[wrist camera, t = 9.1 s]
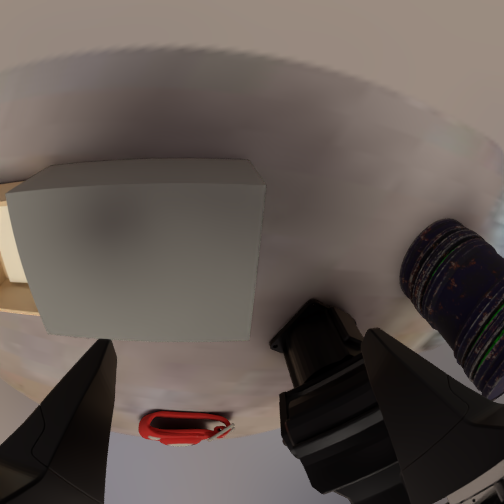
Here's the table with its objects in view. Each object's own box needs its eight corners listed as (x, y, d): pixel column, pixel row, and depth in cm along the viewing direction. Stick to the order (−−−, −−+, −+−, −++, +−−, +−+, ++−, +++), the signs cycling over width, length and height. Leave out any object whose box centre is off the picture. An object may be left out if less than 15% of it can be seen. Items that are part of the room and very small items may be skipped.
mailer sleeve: (248, 159, 19) (266, 185, 14) (238, 286, 23) (249, 340, 18) (51, 165, 16) (5, 193, 11) (72, 284, 21) (47, 334, 16)
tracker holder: (189, 448, 36) (130, 445, 30) (186, 422, 39) (128, 415, 33) (245, 439, 31) (177, 440, 25) (240, 407, 34) (173, 401, 28)
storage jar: (477, 233, 25) (568, 312, 13) (436, 304, 30) (506, 394, 17) (430, 203, 22) (555, 301, 10) (381, 292, 27) (465, 413, 14)
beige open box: (137, 160, 17) (82, 218, 9) (148, 290, 22) (129, 391, 14) (-21, 178, 14) (-99, 231, 6) (6, 284, 19) (-41, 358, 11)
